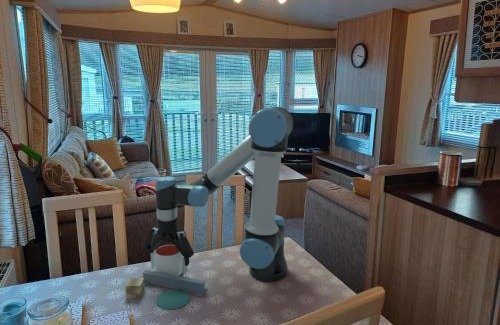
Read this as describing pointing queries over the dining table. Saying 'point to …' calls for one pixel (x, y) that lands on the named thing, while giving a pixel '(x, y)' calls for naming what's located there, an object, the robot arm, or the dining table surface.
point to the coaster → (173, 299)
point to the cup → (168, 260)
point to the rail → (175, 282)
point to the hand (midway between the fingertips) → (169, 269)
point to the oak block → (135, 288)
